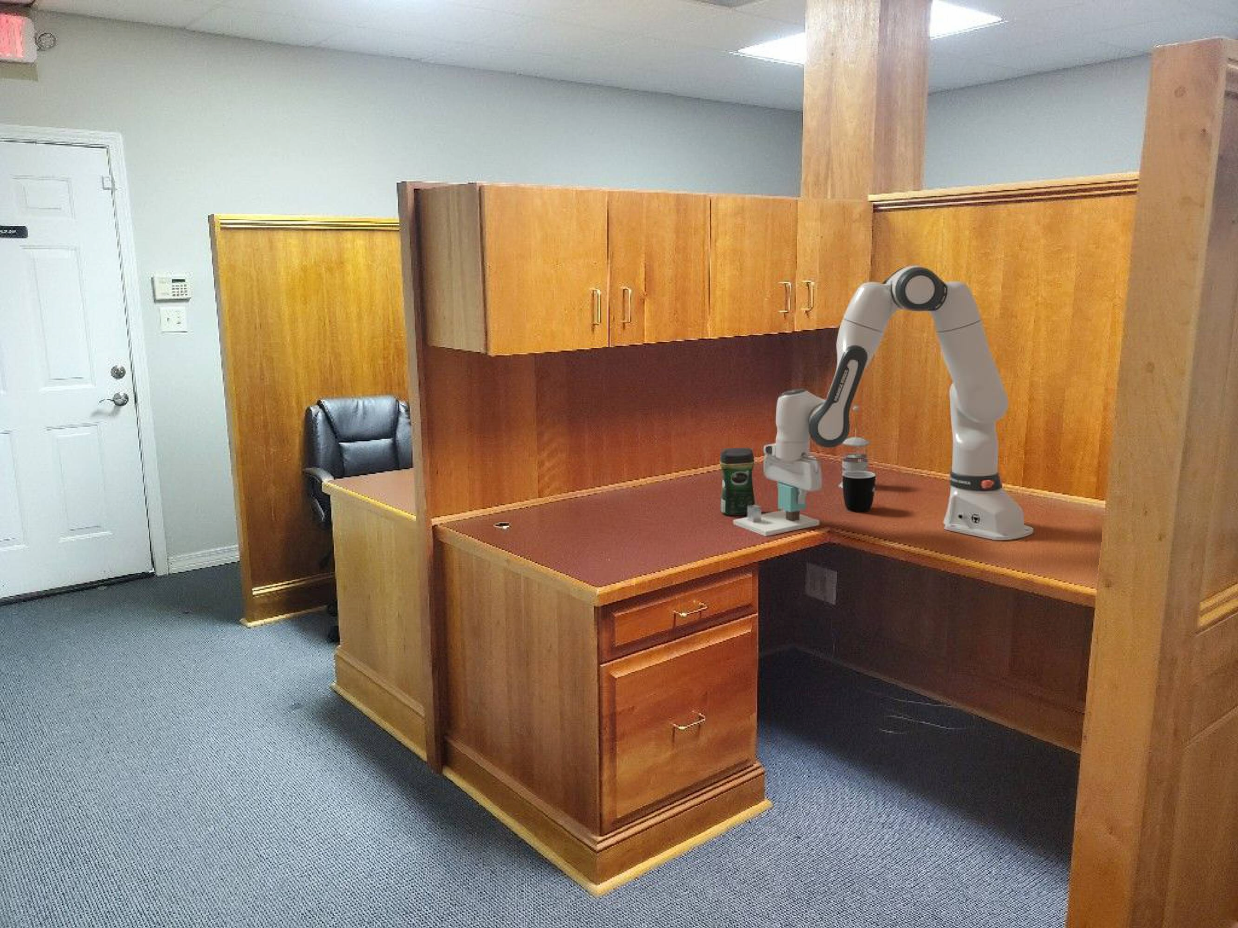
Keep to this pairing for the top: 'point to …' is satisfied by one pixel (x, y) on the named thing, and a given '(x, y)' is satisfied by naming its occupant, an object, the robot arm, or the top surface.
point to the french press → (855, 455)
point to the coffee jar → (737, 480)
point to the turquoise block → (789, 498)
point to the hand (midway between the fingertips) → (792, 501)
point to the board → (775, 523)
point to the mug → (858, 490)
